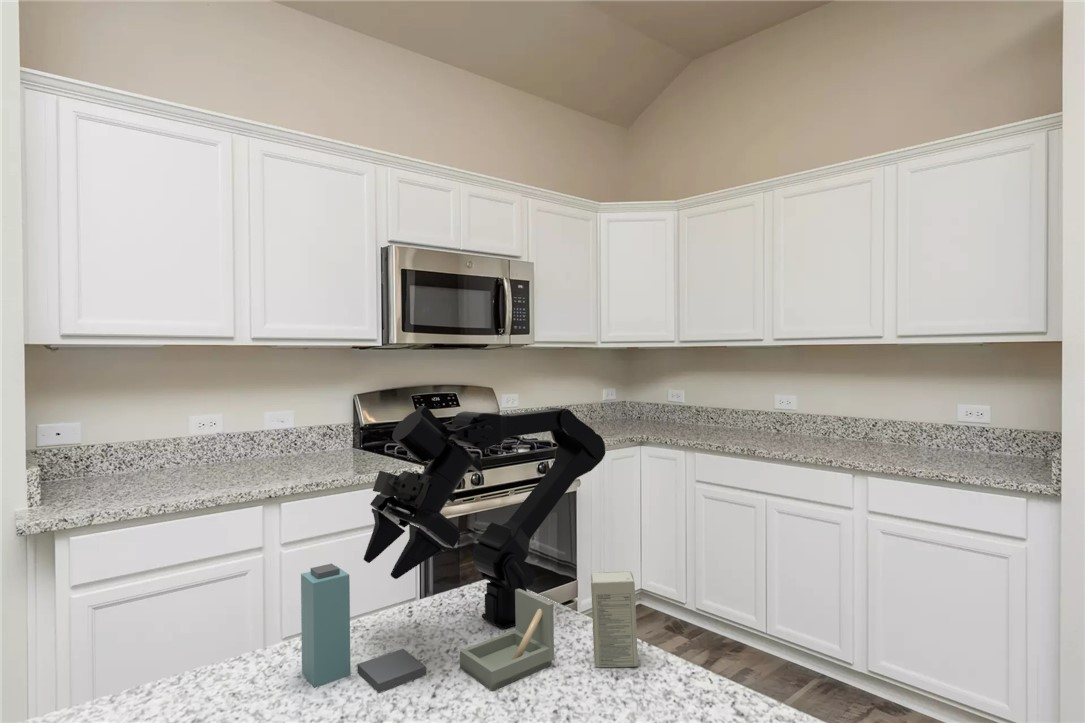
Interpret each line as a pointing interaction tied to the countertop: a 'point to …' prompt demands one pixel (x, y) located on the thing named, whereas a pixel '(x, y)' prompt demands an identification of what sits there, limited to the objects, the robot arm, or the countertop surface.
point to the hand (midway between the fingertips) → (378, 569)
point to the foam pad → (391, 670)
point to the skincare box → (614, 619)
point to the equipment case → (514, 645)
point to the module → (325, 624)
